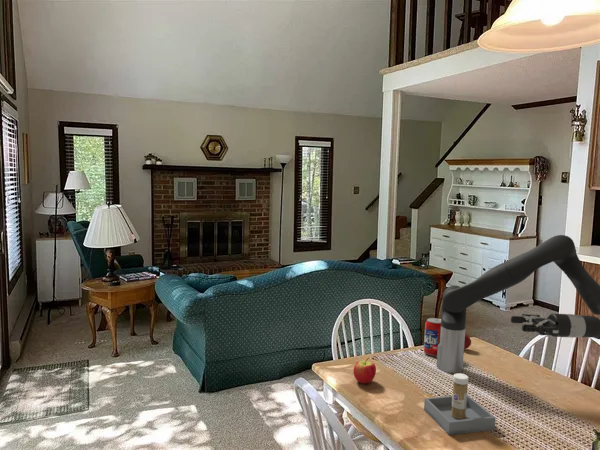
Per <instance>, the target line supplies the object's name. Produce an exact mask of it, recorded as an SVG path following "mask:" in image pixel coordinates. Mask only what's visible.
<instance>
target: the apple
mask: <svg viewBox="0 0 600 450" xmlns="http://www.w3.org/2000/svg"><path fill="white" fill-rule="evenodd" d="M369 359H370V357H368V358H367V359H365V360H364V359H363V360H358V361H357V362H355V363H354V366H353V376H354V378H355V380H356V381H357V382H358V383H360V384H370V383H372V382H373V380H375V379H374V378H375V377H376V374H377V373H376V372H377V368H376V364H375V363H374V362H373V361H369Z"/></svg>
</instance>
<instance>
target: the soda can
mask: <svg viewBox="0 0 600 450" xmlns="http://www.w3.org/2000/svg"><path fill="white" fill-rule="evenodd" d="M424 323H425V325H424V340H423V352H424V353H425V354H426V355H428V356H430V357H437V351H438V344H440V334H441V318H436V317H430V318H427V319H426V321H425V322H424Z"/></svg>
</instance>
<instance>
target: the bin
mask: <svg viewBox="0 0 600 450" xmlns="http://www.w3.org/2000/svg"><path fill="white" fill-rule="evenodd" d="M423 401H424V403H423V411H424V412H425V413H426V414H428V415H429V417H432V418H433V419H434V420H435V421H436V422H437V423H438V424H437V423H436V422H435V421H434V420H433V419H432V418H431V419H432V420H433V421H434V422H435V423H436V424H437V425H438V426H439V427H440V428H441V429H442V430H443V431H444V432H445V431H446V432H445V433H446V434H447V436H454V435H461V434H462V435H463V434H471V433H472V434H473V433H479V432H480V431H481V432H488V431H495V429H496V416H495V415H493V414H492V413H491V412H490V411H489V410H487V409H486V408H485V407H483V406H482V405H481V404H480V403H478V401H476V400H475V399H474V398H472V397H471V396H470V395H468V394H467V402H466V414H465V415H466V417H465V418H464V419H456V418H454V417H453V416H452V415H451V412H452V395H446V396H435V397H425V398H424V400H423Z"/></svg>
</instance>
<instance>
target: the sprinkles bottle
mask: <svg viewBox="0 0 600 450" xmlns="http://www.w3.org/2000/svg"><path fill="white" fill-rule="evenodd" d="M452 381H453V388H452V395H451V396H452V412H451V415H452V416H453V417H454V418H456V419H464V418H465V417H466V415H465V414H466V402H467V395H468V384H469V376H468V375H466V374H465V373H462V372H459V373H453V377H452Z"/></svg>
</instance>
